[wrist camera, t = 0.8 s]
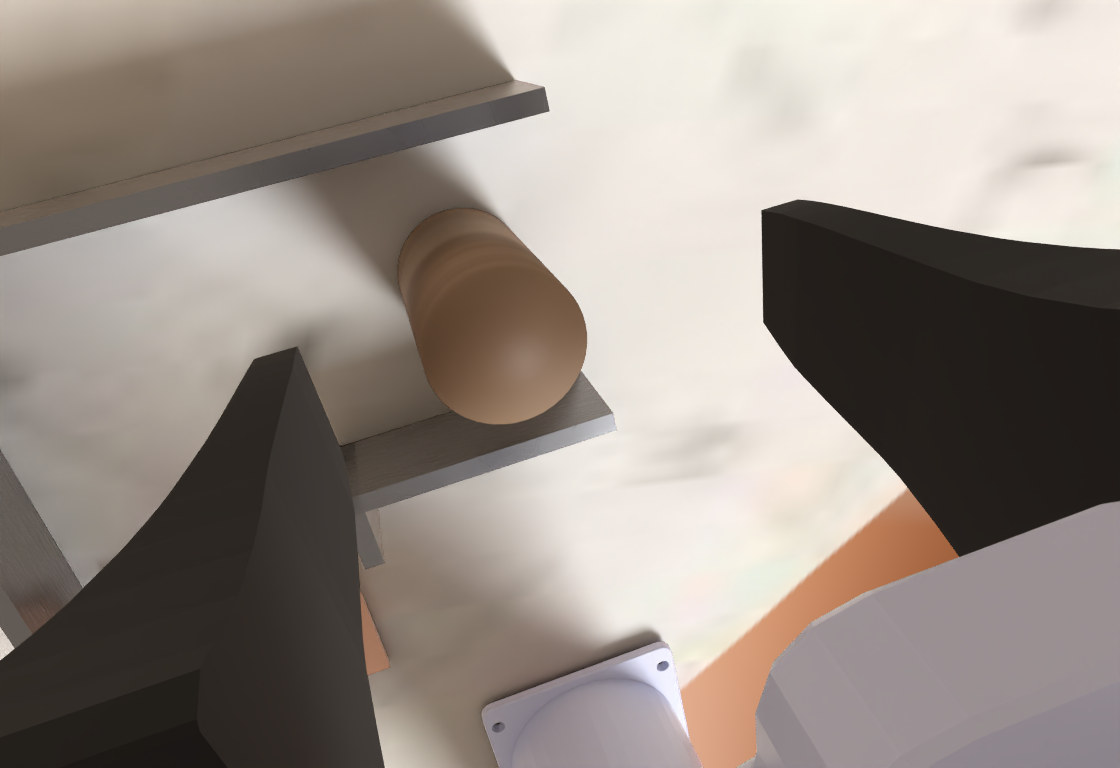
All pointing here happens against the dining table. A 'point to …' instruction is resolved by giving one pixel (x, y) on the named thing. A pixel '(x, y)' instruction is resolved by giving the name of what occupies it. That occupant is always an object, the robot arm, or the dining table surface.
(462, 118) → the rail channel
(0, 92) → the dining table surface
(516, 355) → the walnut peg
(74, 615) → the robot arm
